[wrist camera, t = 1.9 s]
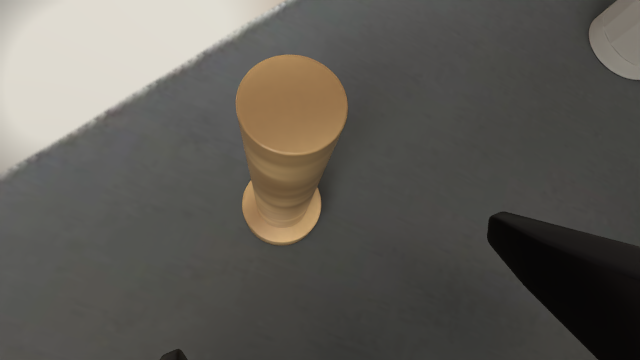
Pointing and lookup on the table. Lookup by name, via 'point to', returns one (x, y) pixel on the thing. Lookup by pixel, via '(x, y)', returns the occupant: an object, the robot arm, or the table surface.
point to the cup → (618, 38)
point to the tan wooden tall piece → (287, 143)
